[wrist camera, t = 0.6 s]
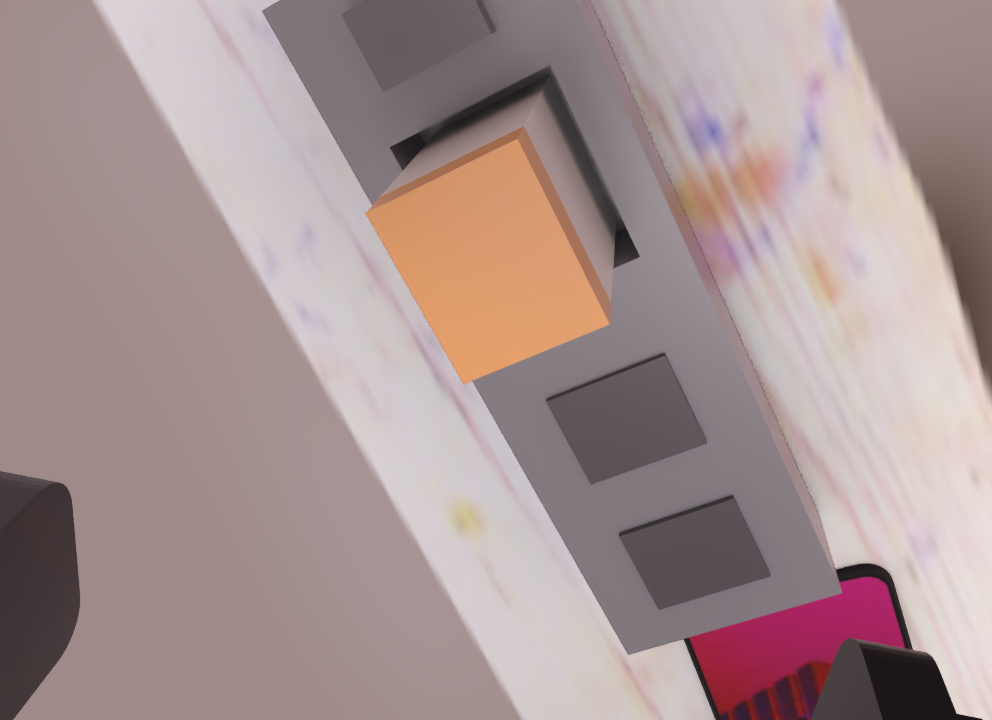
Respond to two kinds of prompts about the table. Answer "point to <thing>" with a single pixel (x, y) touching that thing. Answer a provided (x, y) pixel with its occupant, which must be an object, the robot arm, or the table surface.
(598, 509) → the power strip
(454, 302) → the orange-topped block
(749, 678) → the smartphone
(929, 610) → the table surface
